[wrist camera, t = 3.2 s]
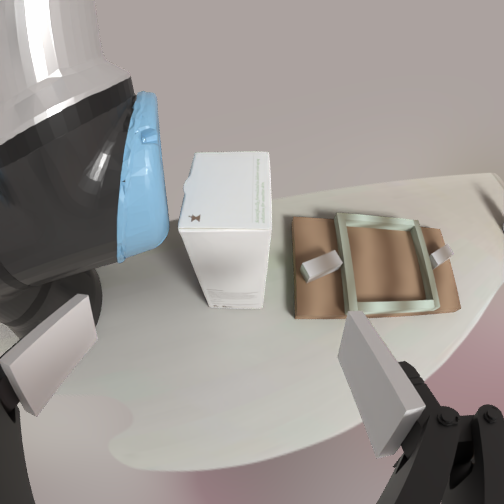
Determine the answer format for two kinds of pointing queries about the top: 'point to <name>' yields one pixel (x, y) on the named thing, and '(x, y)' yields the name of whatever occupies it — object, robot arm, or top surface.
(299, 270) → the board
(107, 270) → the top surface
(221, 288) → the skincare box
